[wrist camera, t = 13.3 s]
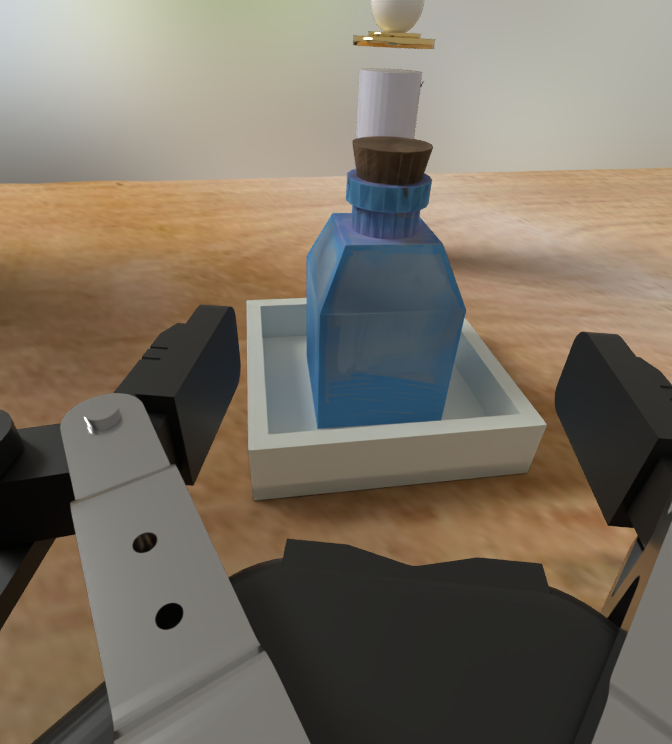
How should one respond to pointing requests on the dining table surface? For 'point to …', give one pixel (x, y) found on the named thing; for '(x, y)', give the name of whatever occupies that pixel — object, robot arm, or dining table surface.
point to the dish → (375, 442)
